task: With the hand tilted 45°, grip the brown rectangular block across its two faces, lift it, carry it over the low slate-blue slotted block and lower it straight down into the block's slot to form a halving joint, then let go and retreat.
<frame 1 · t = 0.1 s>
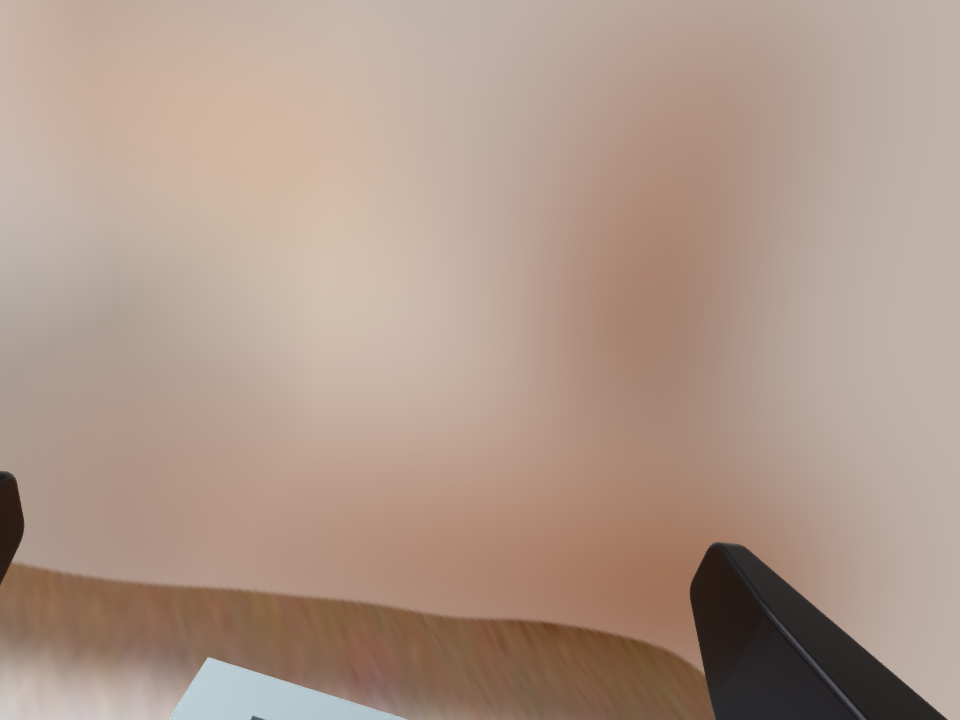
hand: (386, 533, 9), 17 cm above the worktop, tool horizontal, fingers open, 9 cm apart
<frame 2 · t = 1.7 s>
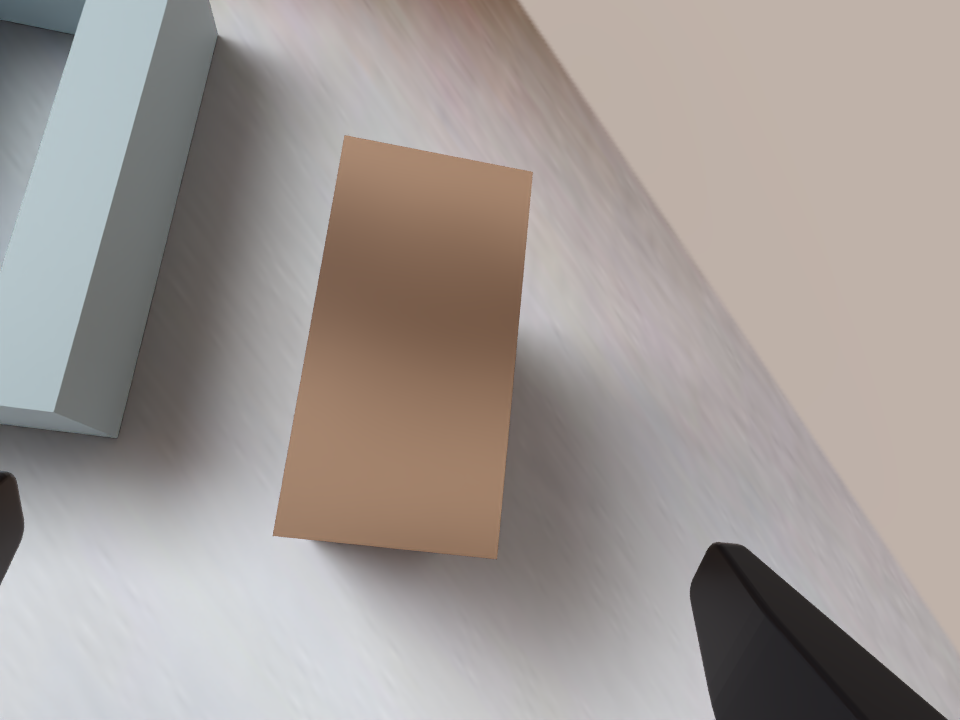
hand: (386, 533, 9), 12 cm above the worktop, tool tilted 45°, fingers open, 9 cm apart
slotted block: (4, 189, 21), on the worktop
brown rectangular block: (390, 413, 22), on the worktop
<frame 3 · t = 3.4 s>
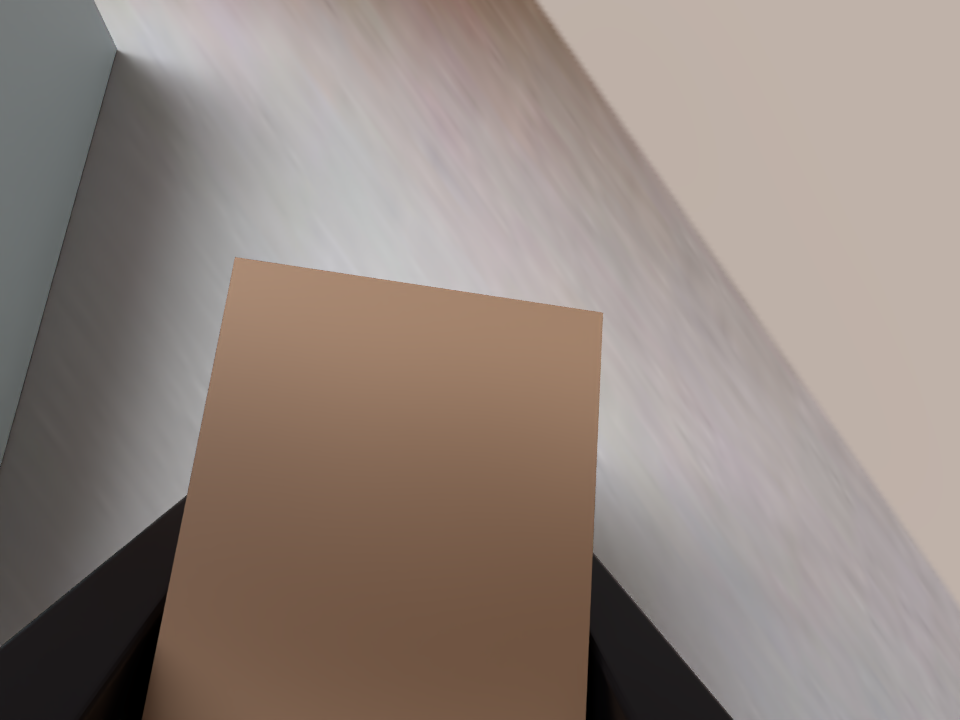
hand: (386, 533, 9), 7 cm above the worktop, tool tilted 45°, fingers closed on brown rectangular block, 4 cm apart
brown rectangular block: (362, 599, 15), on the worktop, touching gripper
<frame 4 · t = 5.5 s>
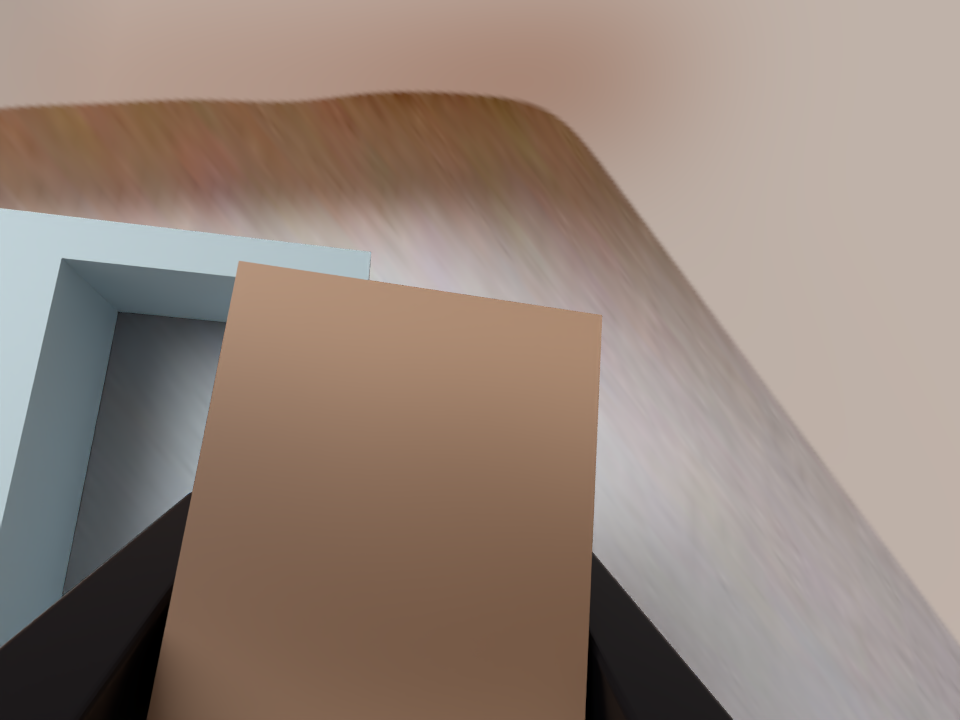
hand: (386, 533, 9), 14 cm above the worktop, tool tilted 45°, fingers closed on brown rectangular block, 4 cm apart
slotted block: (184, 503, 21), on the worktop
brown rectangular block: (364, 600, 15), point 7 cm above the worktop, touching gripper
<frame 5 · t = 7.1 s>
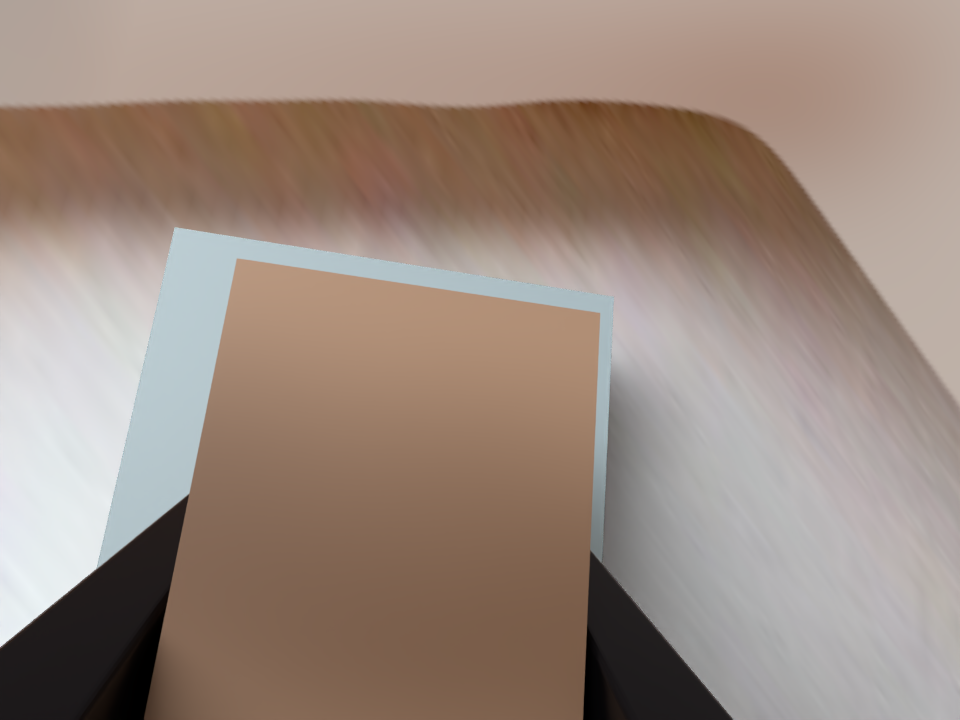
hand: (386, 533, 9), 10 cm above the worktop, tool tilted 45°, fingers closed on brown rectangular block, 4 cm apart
slotted block: (359, 580, 18), on the worktop
brown rectangular block: (363, 599, 15), point 3 cm above the worktop, touching gripper
when the fingers open (7 cm above the worktop, at t = 8.1 s): brown rectangular block stays where it is, resting in slotted block.
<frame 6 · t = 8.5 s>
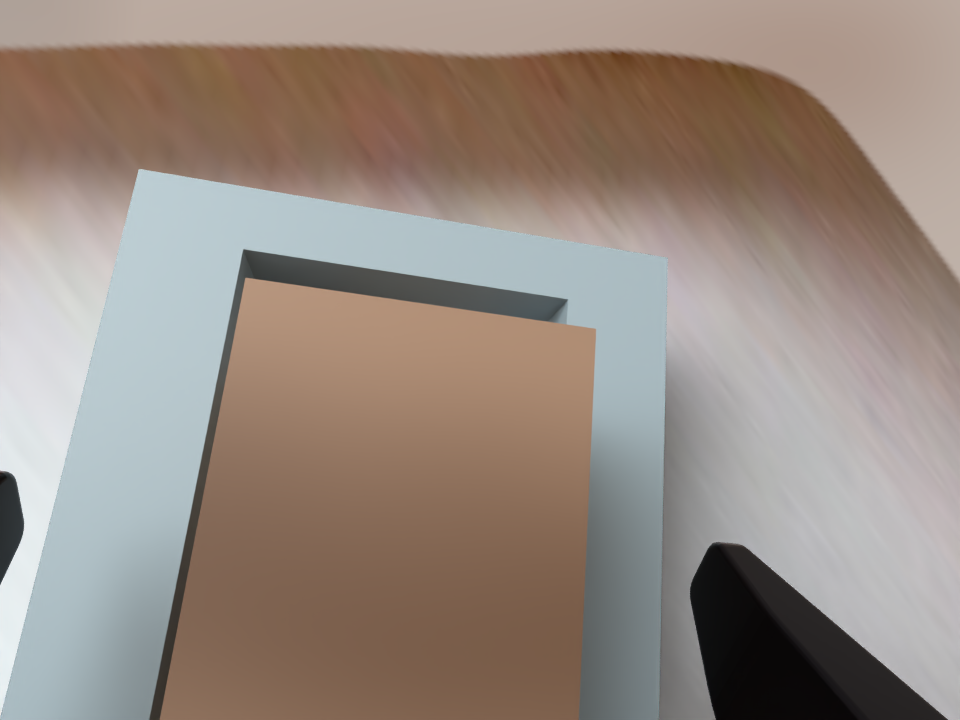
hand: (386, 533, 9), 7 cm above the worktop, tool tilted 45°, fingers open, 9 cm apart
slotted block: (363, 596, 15), on the worktop
brown rectangular block: (365, 601, 15), resting in slotted block
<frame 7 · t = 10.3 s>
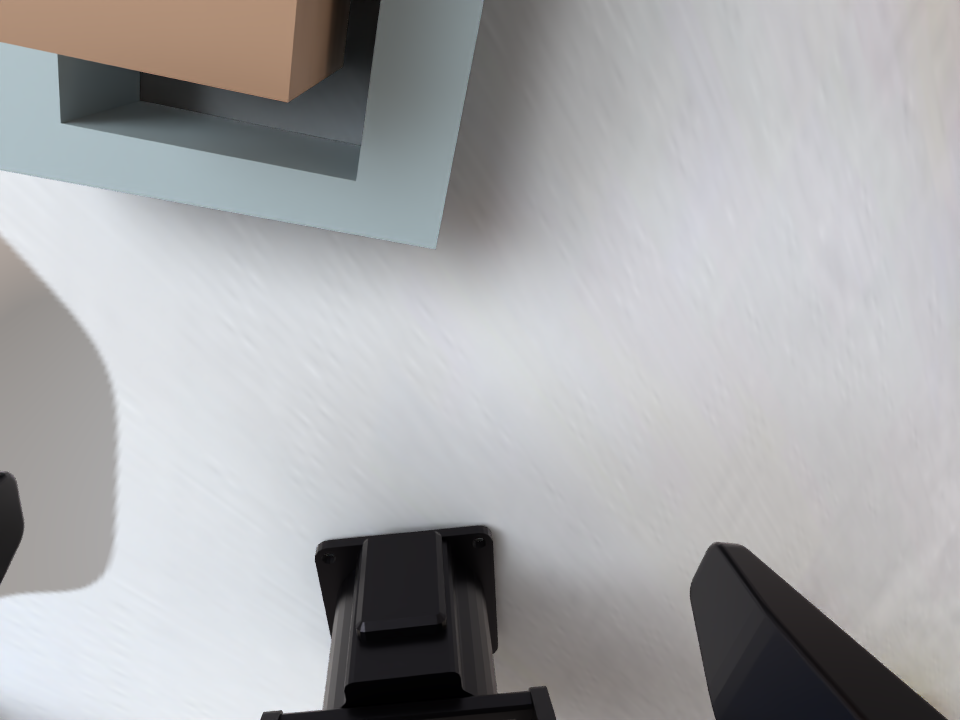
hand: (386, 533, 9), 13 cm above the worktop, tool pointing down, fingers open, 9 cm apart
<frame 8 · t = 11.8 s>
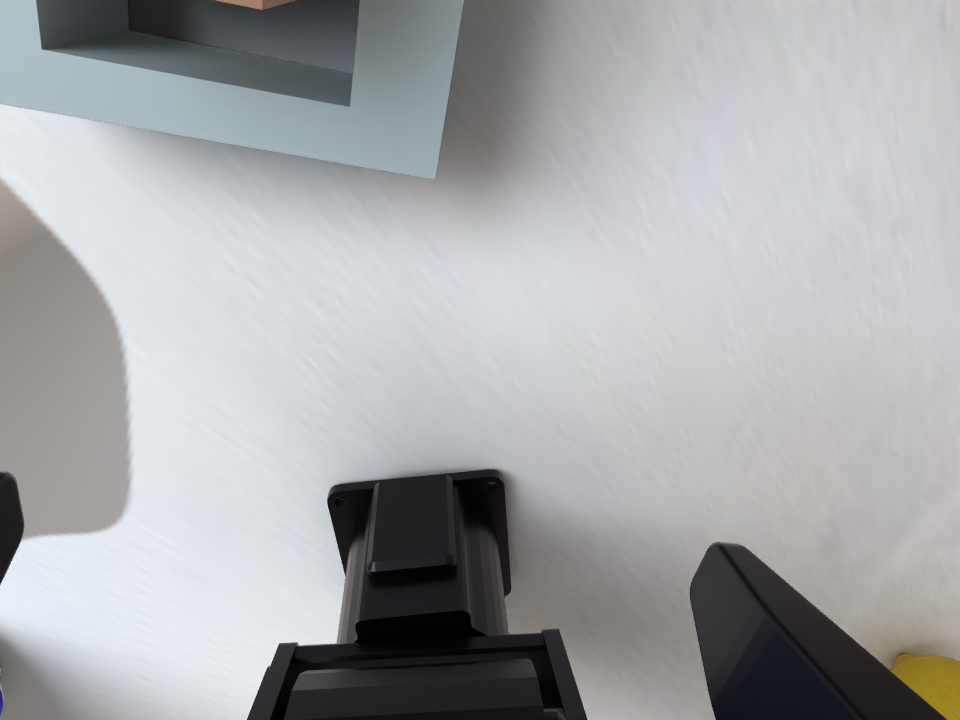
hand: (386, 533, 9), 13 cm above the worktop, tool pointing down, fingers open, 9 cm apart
lemon: (899, 652, 33), on the worktop
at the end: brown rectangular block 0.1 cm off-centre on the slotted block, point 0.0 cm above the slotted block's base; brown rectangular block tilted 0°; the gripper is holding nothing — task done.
